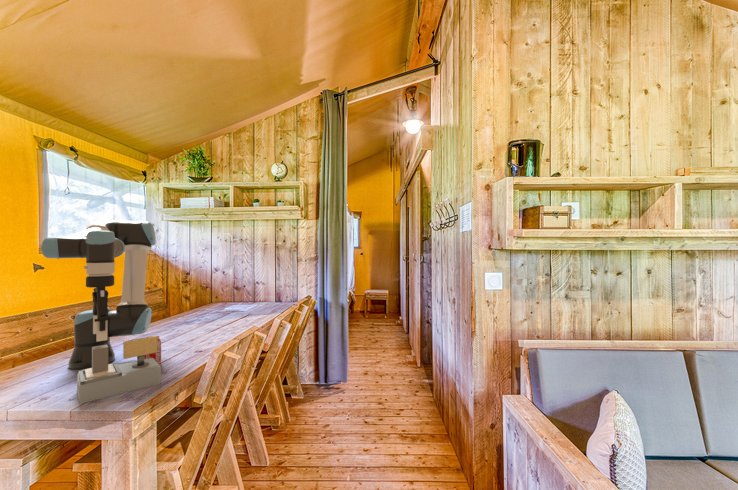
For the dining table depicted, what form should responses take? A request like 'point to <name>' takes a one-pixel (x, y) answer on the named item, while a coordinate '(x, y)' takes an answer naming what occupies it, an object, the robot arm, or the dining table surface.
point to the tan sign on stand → (139, 348)
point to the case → (118, 380)
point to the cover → (99, 363)
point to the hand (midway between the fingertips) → (99, 336)
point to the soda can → (156, 355)
